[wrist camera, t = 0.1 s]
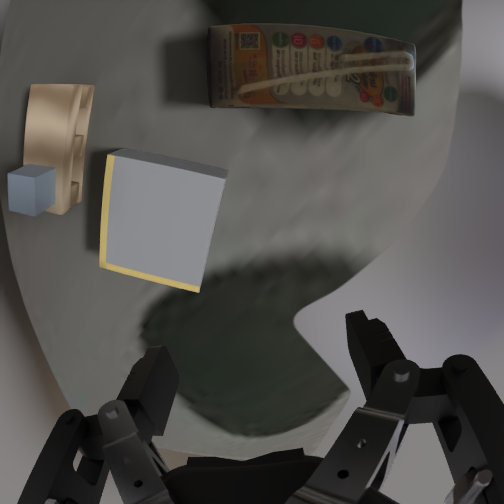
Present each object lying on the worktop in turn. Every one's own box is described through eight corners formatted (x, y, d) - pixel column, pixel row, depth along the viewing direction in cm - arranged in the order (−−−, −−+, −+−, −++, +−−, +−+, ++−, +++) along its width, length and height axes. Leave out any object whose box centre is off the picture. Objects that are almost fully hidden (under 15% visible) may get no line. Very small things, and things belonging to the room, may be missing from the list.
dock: (123, 148, 30) (107, 154, 26) (228, 170, 31) (225, 179, 28) (112, 250, 36) (99, 266, 32) (203, 273, 37) (198, 292, 33)
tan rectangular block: (55, 83, 26) (31, 84, 21) (96, 85, 26) (73, 84, 22) (45, 192, 32) (23, 206, 28) (82, 200, 33) (61, 215, 28)
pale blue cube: (29, 163, 25) (7, 173, 22) (56, 167, 26) (34, 177, 22) (29, 197, 27) (9, 210, 24) (55, 203, 28) (35, 216, 24)
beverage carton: (391, 116, 28) (421, 121, 23) (213, 109, 29) (203, 110, 23) (391, 49, 25) (420, 40, 19) (211, 38, 25) (201, 22, 19)
